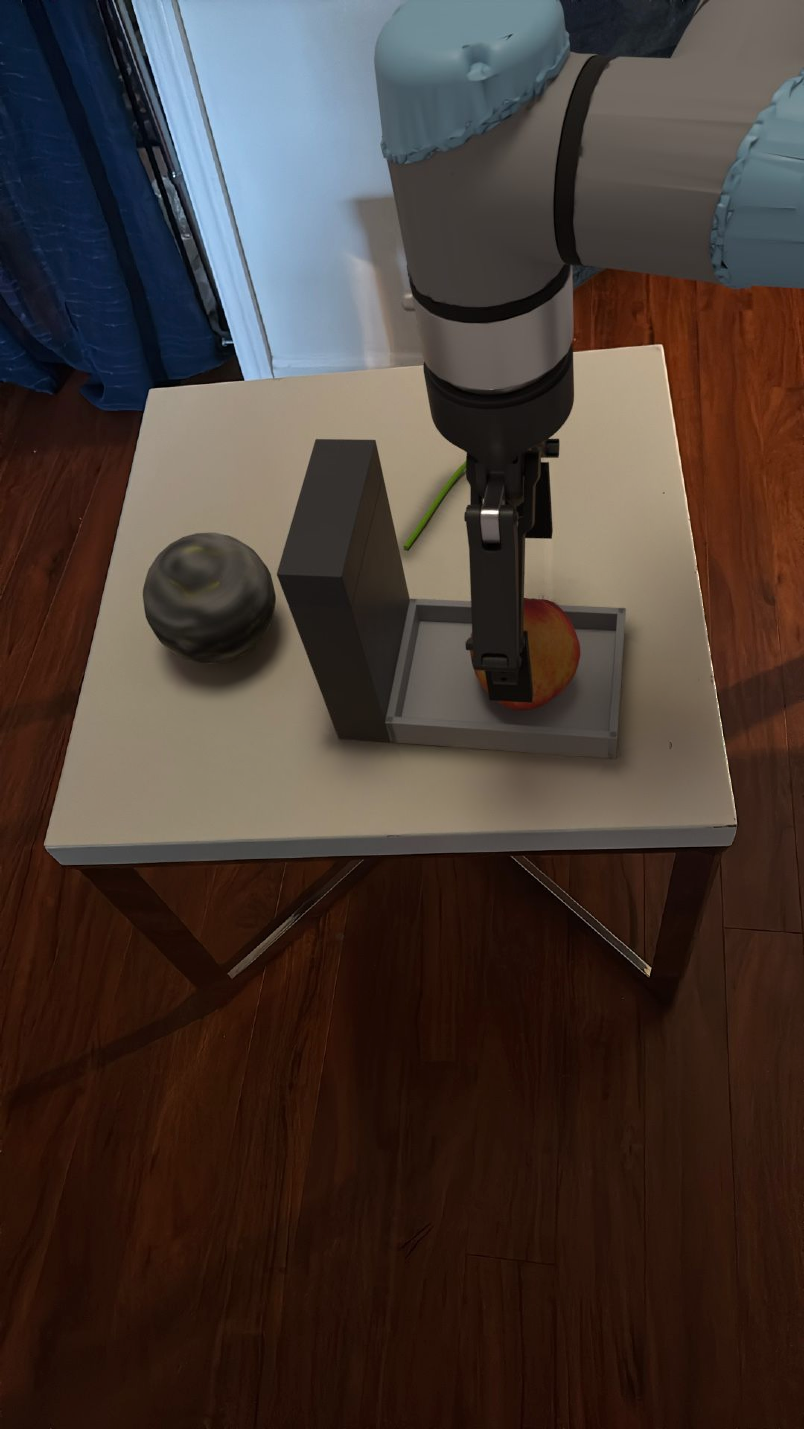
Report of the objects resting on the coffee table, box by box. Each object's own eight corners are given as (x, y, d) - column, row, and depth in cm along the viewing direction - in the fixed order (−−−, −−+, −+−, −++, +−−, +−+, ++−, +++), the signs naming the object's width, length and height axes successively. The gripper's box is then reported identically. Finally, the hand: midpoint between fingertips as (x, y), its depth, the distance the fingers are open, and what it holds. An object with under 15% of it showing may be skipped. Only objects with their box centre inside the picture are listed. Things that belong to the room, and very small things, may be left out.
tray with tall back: (624, 630, 79) (637, 442, 63) (615, 759, 73) (627, 588, 57) (365, 617, 83) (315, 438, 67) (338, 738, 77) (276, 574, 61)
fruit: (595, 652, 77) (596, 584, 70) (557, 741, 73) (555, 678, 67) (496, 625, 79) (488, 556, 73) (454, 709, 76) (443, 646, 69)
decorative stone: (267, 696, 80) (232, 617, 72) (150, 681, 82) (102, 603, 74) (303, 594, 85) (274, 509, 76) (191, 583, 87) (151, 499, 79)
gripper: (456, 203, 59) (489, 475, 76) (379, 536, 46) (440, 770, 64) (590, 196, 57) (592, 475, 75) (549, 539, 44) (563, 779, 62)
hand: (522, 611), depth 69 cm, fingers open, 13 cm apart
